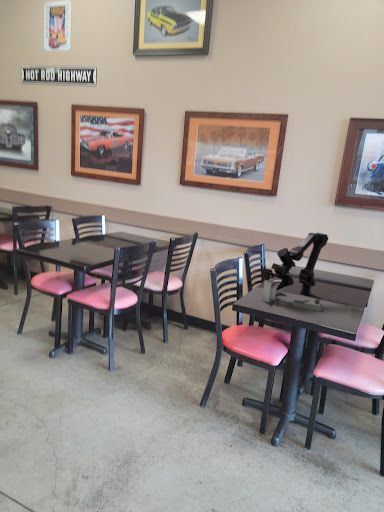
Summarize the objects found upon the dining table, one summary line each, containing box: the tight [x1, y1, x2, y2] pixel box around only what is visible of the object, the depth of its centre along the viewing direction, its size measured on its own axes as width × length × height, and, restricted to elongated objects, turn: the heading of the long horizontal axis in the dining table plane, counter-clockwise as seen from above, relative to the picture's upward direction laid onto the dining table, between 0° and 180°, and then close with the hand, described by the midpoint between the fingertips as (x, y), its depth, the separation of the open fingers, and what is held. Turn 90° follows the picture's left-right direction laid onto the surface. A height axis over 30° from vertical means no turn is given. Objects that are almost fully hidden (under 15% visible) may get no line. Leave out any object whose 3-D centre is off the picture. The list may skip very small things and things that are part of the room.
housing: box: [261, 277, 277, 304], centre depth 212 cm, size 5×5×14 cm
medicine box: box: [272, 279, 283, 296], centre depth 227 cm, size 8×4×9 cm, turn 105°
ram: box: [304, 298, 321, 307], centre depth 205 cm, size 4×8×5 cm, turn 70°
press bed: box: [292, 299, 323, 312], centre depth 212 cm, size 17×25×3 cm
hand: (270, 287), depth 212 cm, fingers open, 9 cm apart
